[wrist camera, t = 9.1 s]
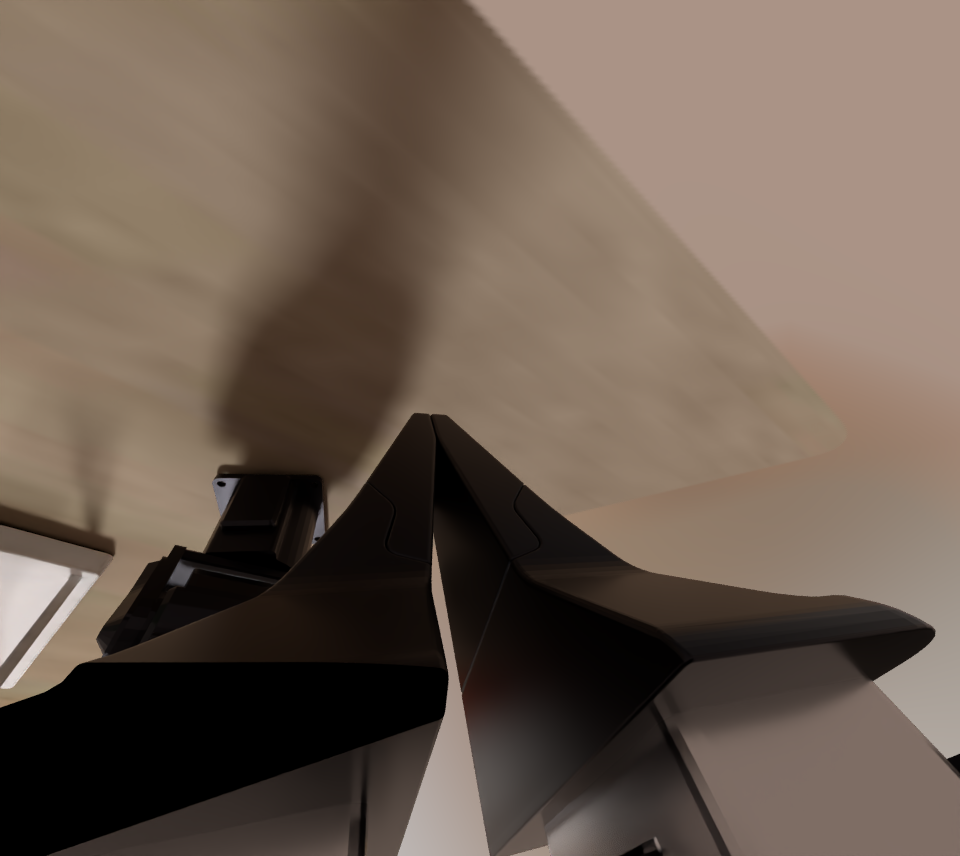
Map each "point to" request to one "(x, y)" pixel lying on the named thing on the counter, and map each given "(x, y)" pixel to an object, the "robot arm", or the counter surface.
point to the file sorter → (38, 593)
